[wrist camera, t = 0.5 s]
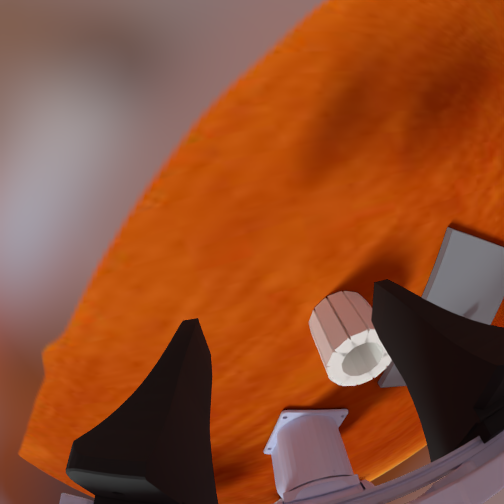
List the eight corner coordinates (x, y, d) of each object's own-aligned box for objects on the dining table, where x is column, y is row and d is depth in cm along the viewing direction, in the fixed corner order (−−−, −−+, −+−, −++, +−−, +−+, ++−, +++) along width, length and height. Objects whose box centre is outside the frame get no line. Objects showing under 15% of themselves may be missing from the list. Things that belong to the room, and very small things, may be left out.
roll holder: (455, 374, 30) (467, 390, 27) (377, 382, 28) (388, 403, 25) (516, 251, 24) (534, 262, 21) (447, 226, 22) (470, 239, 19)
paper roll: (355, 344, 25) (377, 384, 20) (301, 341, 25) (317, 386, 20) (376, 294, 24) (406, 330, 19) (320, 287, 23) (343, 327, 18)
